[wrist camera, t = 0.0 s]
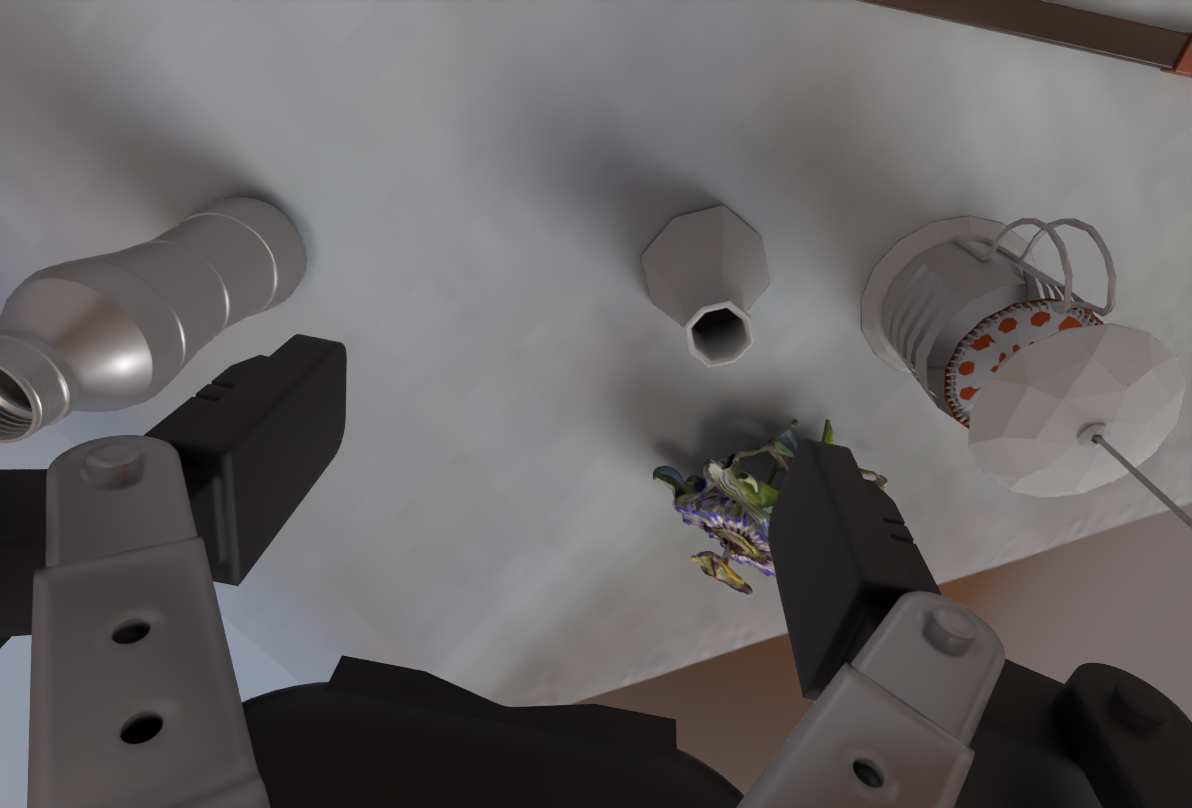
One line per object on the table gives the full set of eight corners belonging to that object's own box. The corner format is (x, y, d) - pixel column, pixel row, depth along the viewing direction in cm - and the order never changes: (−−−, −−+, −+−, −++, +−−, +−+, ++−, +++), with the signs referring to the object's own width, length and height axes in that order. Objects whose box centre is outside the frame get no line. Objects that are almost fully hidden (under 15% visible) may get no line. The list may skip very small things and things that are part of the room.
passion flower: (708, 451, 53) (612, 505, 44) (802, 352, 46) (711, 392, 37) (814, 570, 49) (733, 655, 40) (931, 482, 43) (865, 560, 34)
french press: (846, 374, 43) (1049, 734, 21) (884, 180, 37) (1212, 393, 15) (1010, 379, 42) (1397, 756, 20) (1073, 183, 37) (1695, 409, 15)
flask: (729, 180, 38) (752, 226, 29) (789, 287, 41) (827, 358, 32) (619, 250, 40) (609, 312, 32) (682, 347, 43) (690, 429, 34)
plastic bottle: (189, 202, 41) (-161, 333, 23) (293, 176, 40) (7, 294, 22) (239, 304, 44) (-38, 489, 26) (337, 283, 42) (116, 462, 25)
